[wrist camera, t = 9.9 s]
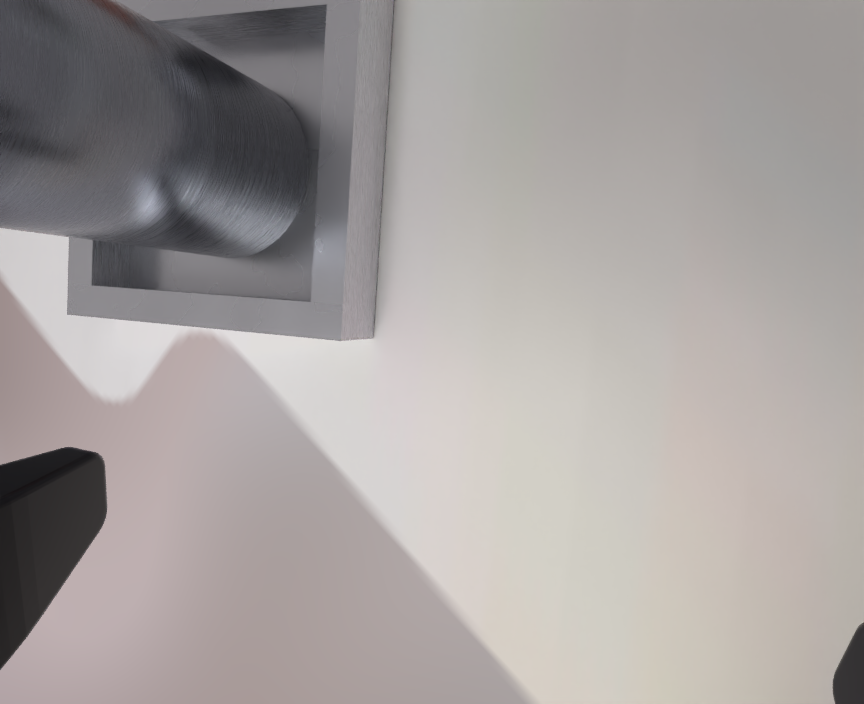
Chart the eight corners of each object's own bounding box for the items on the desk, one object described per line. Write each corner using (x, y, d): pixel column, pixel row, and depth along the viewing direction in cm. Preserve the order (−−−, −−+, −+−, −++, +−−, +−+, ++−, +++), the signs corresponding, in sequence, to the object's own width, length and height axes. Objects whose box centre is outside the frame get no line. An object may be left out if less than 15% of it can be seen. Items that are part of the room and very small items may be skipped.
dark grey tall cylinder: (331, 230, 19) (-239, 82, 7) (182, 282, 21) (-466, 236, 9) (286, 48, 20) (-344, -398, 7) (143, 116, 21) (-543, -146, 9)
